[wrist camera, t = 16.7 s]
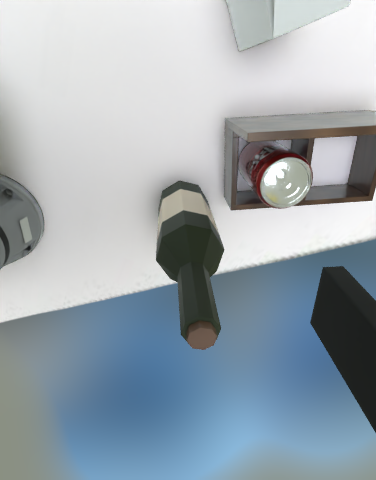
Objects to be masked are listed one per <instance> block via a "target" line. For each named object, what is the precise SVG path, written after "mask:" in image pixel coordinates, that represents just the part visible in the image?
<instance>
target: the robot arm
mask: <svg viewBox="0 0 376 480" xmlns="http://www.w3.org/2000/svg"><path fill="white" fill-rule="evenodd" d="M43 231H44V219H43V214H42V212H41V209H40V207H39V205H38V203H37V202H36V200H35V199H34V197H33V196H32V195H31V194H30V193H29V192H28V191H27V190H26V189H25V188H24V187H23V186H21V185H20V184H19V183H17V182H15V181H14V180H12V179H10V178H8V177H5V176H3V175H0V269H1V268H2V267H3V266H5V265H7V264H9V263H12V262H14V261H16V260H18V259H21V258H23V257H24V256H26V255H28V254H29V253H30V252H31V251H32V250H33V249H34V248H35V247H36V245H37V244H38V243H39V241H40V239H41V237H42V235H43ZM310 323H311V325H312V326H313V328H314V330H315V331H316V333H317V335H318V337H319V338H320V340H321V342H322V343H323V345H324V347H325V348H326V350H327V351H328V353H329V355H330V357H331V358H332V360H333V362H334V364H335V365H336V367H337V369H338V370H339V372H340V373H341V375H342V377H343V379H344V380H345V382H346V384H347V385H348V387H349V389H350V390H351V392H352V394H353V395H354V397H355V399H356V400H357V402H358V404H359V405H360V407H361V409H362V411H363V412H364V414H365V416H366V417H367V419H368V421H369V422H370V424H371V426H372V427H373V429H374V431H375V432H376V301H375V300H374V298H372V296H371V295H370V294H369V293H368V292H367V291H366V290H365V289H364V288H363V287H362V286H361V285H360V284H359V283H358V282H357V281H356V280H355V278H353V276H352V275H351V274H350V273H349V272H348V271H347V270H346V269H345V268H344V267H343V266H340V267H323V270H322V274H321V278H320V283H319V287H318V291H317V296H316V301H315V305H314V309H313V314H312V318H311V322H310Z"/></svg>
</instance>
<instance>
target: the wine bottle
mask: <svg viewBox="0 0 376 480" xmlns="http://www.w3.org/2000/svg"><path fill="white" fill-rule="evenodd" d="M223 252H224V247H223V244H222V242H221V239H220V236H219V233H218V230H217V227H216V224H215V221H214V218H213V216H212V213H211V210H210V207H209V204H208V201H207V199H206V198H205V196H204V194H203V193H202V191H201V189H200V187H199V186H198V185H195V184H191V183H187V182H183V181H178V182H176V183H175V184H173V185H171V186H170V187H168V188H166V189H165V190H163V192H162V196H161V201H160V205H159V213H158V232H157V251H156V261H157V262H158V263H159V265H160V266H161V267H162V269H163V270H164V271H165V272H166V274H167V275H168V276H169V278H170V279H172V280H174V281H176V282H178V294H179V311H180V327H181V335H182V336H183V338H184V339H185V340H186V341H187V342H188V344H189V345H190V346H191V347H192V348H194V349H202V350H204V349H206V348H209V347H211V346H213V345H214V343H215V341H216V339H217V337H218V335H219V332H220V330H221V326H220V322H219V317H218V313H217V308H216V304H215V299H214V295H213V291H212V286H211V281H210V277H211V276H212V275H213V274H214V273H215V272H216V271H217V269H218V266H219V263H220V260H221V258H222V255H223Z"/></svg>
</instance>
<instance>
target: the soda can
mask: <svg viewBox="0 0 376 480" xmlns="http://www.w3.org/2000/svg"><path fill="white" fill-rule="evenodd" d="M238 167H239V171H240V174H241V175H242V177H243V178H244V179H245V181H246V182H247V183H248V184H249V186H250V187H251V188H252V189H253V191H254V192H255V193H256V194H257V196H258V197H259V198H260V199H261V201H262V202H263V203H264V204H266V205H268V206H269V207H272V208H278V209H281V208H288V207H291V206H293V205H295V204H297V203H298V202H300V201H301V200H302V199H303V198H304V197H305V196H306V195H307V193H308V191H309V190H310V187H311V185H312V180H313V172H312V168H311V166H310V164H309V162H308V161H307V160H306V159H305V158H304V157H302V156H301V155H299V154H297V153H295V152H293V151H292V150H290V149H288V148H286V147H284V146H283V145H281V144H279V143H277V142H275V141H259V142H250V143H249V144H247V145H246V146H245V148H244V149H243V150H242V152H241V154H240V156H239V161H238Z"/></svg>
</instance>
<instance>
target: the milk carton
mask: <svg viewBox="0 0 376 480" xmlns="http://www.w3.org/2000/svg"><path fill="white" fill-rule="evenodd" d="M226 2H227V6H228V10H229V14H230V18H231V22H232V26H233V30H234V34H235V38H236V42H237V46H238V50H239V51H243V50H245V49H248V48H250V47H253V46H256V45H258V44H261V43H263V42H266V41H269V40H271V39H274V38H276V37H279V36H281V35H284V34H286V33H288V32H291V31H293V30H295V29H297V28H300V27H302V26H304V25H307V24H309V23H311V22H314V21H316V20H318V19H321V18H323V17H325V16H327V15H330V14H332V13H334V12H337V11H339V10H341V9H343V8H346V7H347V6H349V5H350V2H351V0H226Z"/></svg>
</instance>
